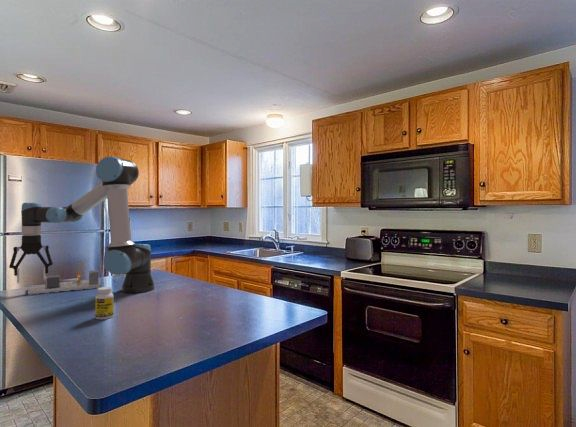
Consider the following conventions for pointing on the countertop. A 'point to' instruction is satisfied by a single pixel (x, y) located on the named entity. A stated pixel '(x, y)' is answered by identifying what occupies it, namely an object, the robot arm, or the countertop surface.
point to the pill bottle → (104, 303)
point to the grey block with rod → (55, 281)
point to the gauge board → (69, 285)
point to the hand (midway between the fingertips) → (31, 281)
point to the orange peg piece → (78, 277)
